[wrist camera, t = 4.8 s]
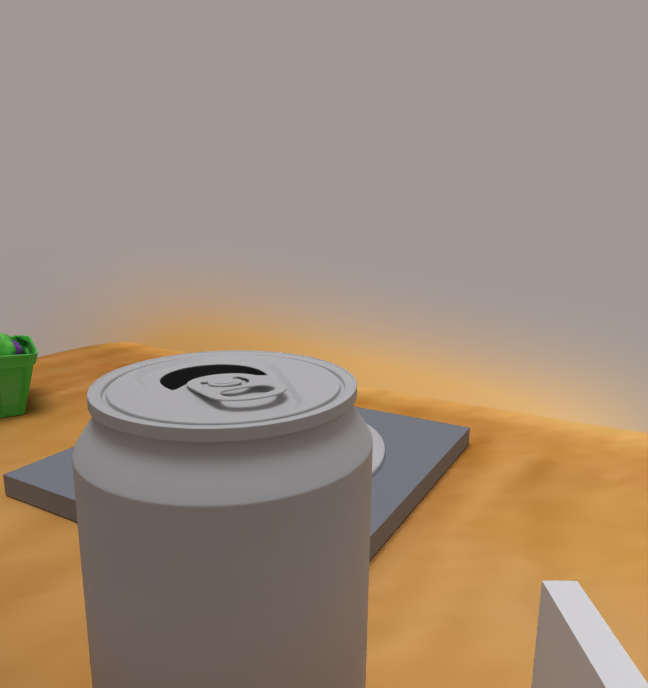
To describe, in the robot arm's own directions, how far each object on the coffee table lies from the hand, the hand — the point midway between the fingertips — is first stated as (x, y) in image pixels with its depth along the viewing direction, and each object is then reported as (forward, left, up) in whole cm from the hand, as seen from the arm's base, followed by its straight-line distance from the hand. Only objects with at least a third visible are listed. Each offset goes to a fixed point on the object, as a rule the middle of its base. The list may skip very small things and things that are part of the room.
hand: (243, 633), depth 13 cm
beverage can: (-1, +1, -7) cm, 7 cm away
